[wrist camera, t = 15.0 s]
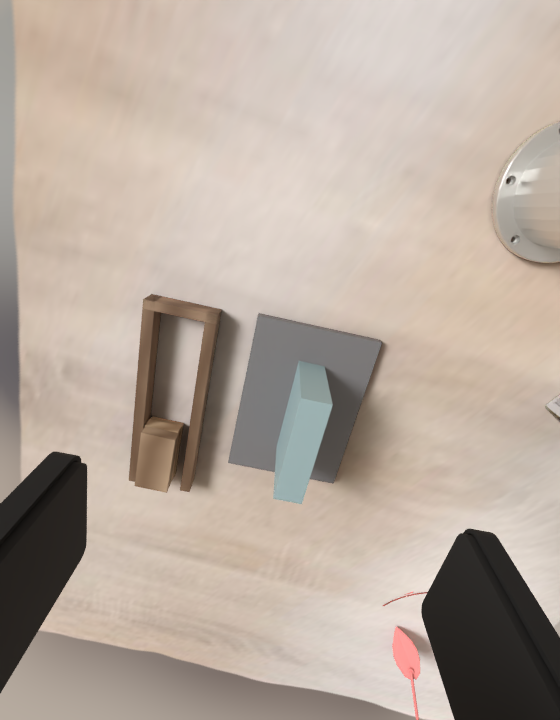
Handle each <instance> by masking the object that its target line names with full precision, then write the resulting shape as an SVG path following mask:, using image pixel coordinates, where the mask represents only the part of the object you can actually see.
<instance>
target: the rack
mask: <svg viewBox="0 0 560 720" xmlns="http://www.w3.org/2000/svg"><path fill="white" fill-rule="evenodd" d="M221 311H222V310H221V309H217V308H212V307H208V306H203V305H199V304H194V303H190V302H185V301H181V300H176V299H171V298H167V297H162V296H158V295H153V294H151V295H150V296H148V297H146V298H145V299H143V310H142V322H141V335H140V347H139V360H138V372H137V385H136V397H135V409H134V422H133V434H132V447H131V459H130V472H129V481H134V482H135V479H136V470H137V462H138V454H139V446H140V437H141V432H142V431H143V429H144V428H145V425H146V423H147V422H148V420H149V419H150V417H151V407H152V397H153V387H154V378H155V368H156V358H157V348H158V338H159V328H160V318H161V313H166V314H170V315H175V316H179V317H184V318H189V319H193V320H198V321H202V322H205V325H204V332H203V339H202V345H201V352H200V359H199V366H198V372H197V379H196V386H195V393H194V399H193V406H192V413H191V420H190V426H189V433H188V440H187V447H186V453H185V460H184V467H183V474H182V480H181V487H180V490H182V491H187V492H189V491H190V489H191V486H192V483H193V480H194V476H195V470H196V464H197V457H198V451H199V445H200V439H201V433H202V427H203V421H204V415H205V409H206V403H207V396H208V390H209V384H210V378H211V372H212V366H213V360H214V354H215V348H216V342H217V335H218V329H219V323H220V317H221Z"/></svg>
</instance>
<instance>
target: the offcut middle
mask: <svg viewBox="0 0 560 720" xmlns="http://www.w3.org/2000/svg"><path fill="white" fill-rule="evenodd" d="M145 426H149V427H153V428H158V429H162V430H167V431H171V432H176V433H179V435H178V441H177V447H176V453H175V459H174V465H173V471H172V477H171V481H172V479H173V477H174V471H175V464H176V458H177V451H178V444H179V438H180V431H181V426H180V425H176V424H171V423H166V422H162V421H157V420H152V419H149V420H148V422H147V423H146V425H145ZM170 483H171V482H170Z"/></svg>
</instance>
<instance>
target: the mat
mask: <svg viewBox="0 0 560 720" xmlns="http://www.w3.org/2000/svg"><path fill="white" fill-rule="evenodd" d="M381 344H382V342H381V341H380V340H378V339H373V338H369V337H364V336H359V335H355V334H350V333H346V332H341V331H337V330H332V329H328V328H323V327H319V326H314V325H310V324H305V323H301V322H296V321H292V320H287V319H282V318H278V317H273V316H269V315H264V314H260V313H259V314H258V318H257V323H256V328H255V333H254V338H253V343H252V348H251V353H250V358H249V363H248V368H247V373H246V377H245V382H244V387H243V392H242V397H241V402H240V407H239V412H238V417H237V422H236V427H235V431H234V436H233V441H232V446H231V451H230V456H229V461H228V463H231V464H236V465H242V466H247V467H252V468H257V469H262V470H267V471H272V472H275V464H276V447H277V443H278V439H279V435H280V432H281V428H282V424H283V420H284V416H285V412H286V409H287V405H288V401H289V397H290V393H291V389H292V385H293V382H294V378H295V374H296V370H297V366H298V362H299V361H302V362H307V363H311V364H316V365H321V366H325V371H326V376H327V380H328V385H329V390H330V394H331V399H332V404H333V406H332V409H331V412H330V415H329V418H328V422H327V425H326V428H325V431H324V434H323V438H322V441H321V444H320V447H319V450H318V454H317V457H316V460H315V463H314V466H313V470H312V473H311V476H310V479H313V480H318V481H323V482H328V483H334V481H335V478H336V475H337V472H338V469H339V466H340V463H341V460H342V457H343V454H344V452H345V449H346V446H347V443H348V440H349V437H350V434H351V431H352V428H353V425H354V423H355V420H356V417H357V414H358V411H359V408H360V405H361V402H362V399H363V396H364V394H365V391H366V388H367V385H368V382H369V379H370V376H371V373H372V370H373V368H374V365H375V362H376V359H377V356H378V353H379V350H380V347H381Z"/></svg>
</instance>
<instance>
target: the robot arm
mask: <svg viewBox="0 0 560 720" xmlns="http://www.w3.org/2000/svg"><path fill="white" fill-rule="evenodd" d="M559 130H560V121H559V122H556V123H554V124H551V125H549V126H546V127H545V128H543V129H541V130H540V131H538V132H536V133H535V134H533V135H532V136H531V137H530V138H528V139H527V140H526V141H525V142H524V143H522V144H521V145H520V146H519V148H518V149H517V150H516V151H515V152H514V153H513V154H512V156H511V157H510V158H509V160H508V162H507V163H506V165H505V166H504V168H503V169H502V172H501V174H500V176H499V178H498V181H497V183H496V187H495V190H494V194H493V201H492V217H493V224H494V227H495V230H496V233H497V235H498V237H499V239H500V240H501V242H502V243H503V244H504V246H505V247H506V248H507V249H508V250H509V251H511V252H512V253H514V254H515V255H517V256H518V257H521V258H524V259H526V260H529V261H535V262H539V263H554V262H560V133H559ZM506 179H508V183H507V184H506ZM512 237H513V240H512V241H511V238H512ZM86 533H87V465H86V464H84V463H81V458H80V456H76V455H71V454H66V453H60V452H52V453H51V454H49V455H48V456H47V457H46V458H45V459H44V460H43V461H42V462H41V463H40V464H39V465H38V466H37V467H36V468H35V469H34V470H33V471H32V472H31V473H30V474H29V475H28V476H27V477H26V478H25V479H24V480H23V481H22V482H21V484H20V485H19V486H18V487H17V488H16V489H15V490H14V491H13V492H12V493H11V494H10V495H9V496H8V497H7V498H6V499H5V500H4V501H3V502H2V503H0V693H1V691H2V690H3V688H4V686H5V685H6V683H7V681H8V679H9V678H10V676H11V675H12V673H13V671H14V670H15V668H16V666H17V665H18V663H19V661H20V660H21V658H22V656H23V655H24V653H25V651H26V650H27V648H28V646H29V645H30V643H31V642H32V640H33V638H34V636H35V635H36V633H37V632H38V630H39V628H40V627H41V625H42V623H43V622H44V620H45V618H46V617H47V615H48V613H49V612H50V610H51V608H52V607H53V605H54V603H55V602H56V600H57V598H58V597H59V595H60V593H61V592H62V590H63V588H64V587H65V585H66V583H67V582H68V580H69V578H70V577H71V575H72V574H73V572H74V570H75V569H76V567H77V565H78V564H79V562H80V560H81V558H82V556H83V554H84V551H85V548H86ZM422 618H423V622H424V625H425V628H426V631H427V634H428V637H429V640H430V644H431V647H432V650H433V653H434V656H435V659H436V662H437V666H438V669H439V672H440V675H441V678H442V681H443V685H444V688H445V691H446V694H447V697H448V700H449V703H450V707H451V710H452V713H453V716H454V719H455V720H560V637H559V636H558V634H557V632H556V631H555V629H554V628H553V626H552V624H551V623H550V621H549V620H548V618H547V616H546V615H545V613H544V612H543V610H542V608H541V607H540V605H539V604H538V602H537V600H536V599H535V597H534V595H533V594H532V592H531V591H530V589H529V587H528V586H527V584H526V583H525V581H524V579H523V578H522V576H521V575H520V573H519V571H518V570H517V568H516V567H515V565H514V563H513V562H512V560H511V559H510V557H509V555H508V554H507V552H506V551H505V549H504V547H503V546H502V544H501V543H500V541H499V539H498V538H497V537H496V535H495V534H493V533H491V532H485V531H480V530H474V529H467V530H465V532H464V533H463V534H462V533H461V534H459V535H458V536H457V538H456V540H455V542H454V544H453V546H452V547H451V549H450V551H449V553H448V555H447V557H446V559H445V561H444V563H443V565H442V566H441V568H440V570H439V572H438V574H437V576H436V578H435V580H434V582H433V584H432V585H431V587H430V589H429V591H428V593H427V595H426V597H425V599H424V601H423V603H422Z"/></svg>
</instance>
